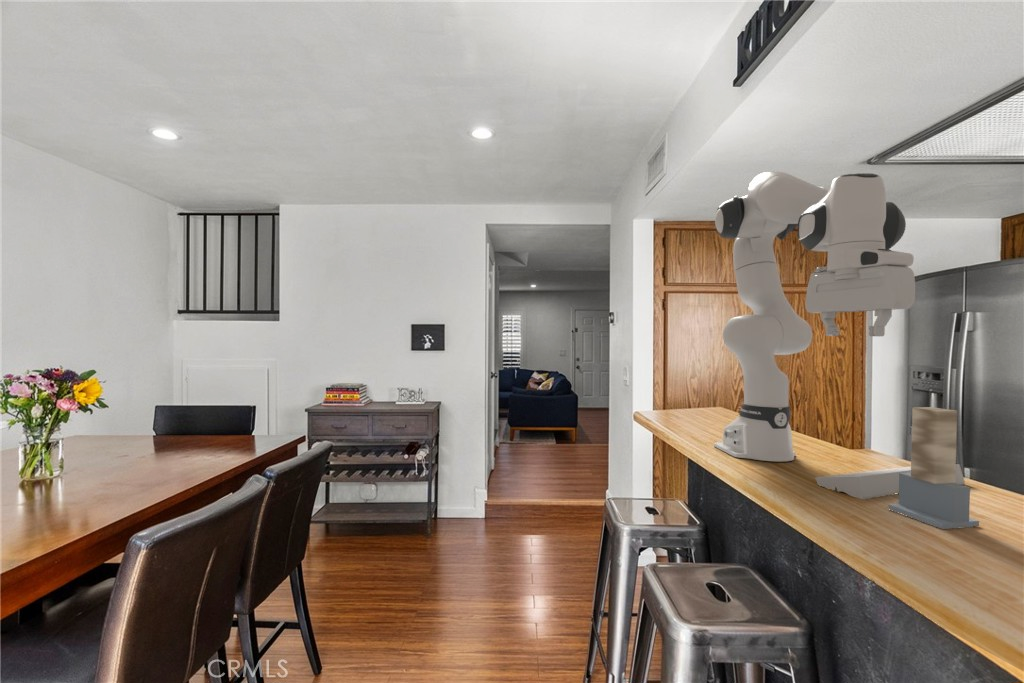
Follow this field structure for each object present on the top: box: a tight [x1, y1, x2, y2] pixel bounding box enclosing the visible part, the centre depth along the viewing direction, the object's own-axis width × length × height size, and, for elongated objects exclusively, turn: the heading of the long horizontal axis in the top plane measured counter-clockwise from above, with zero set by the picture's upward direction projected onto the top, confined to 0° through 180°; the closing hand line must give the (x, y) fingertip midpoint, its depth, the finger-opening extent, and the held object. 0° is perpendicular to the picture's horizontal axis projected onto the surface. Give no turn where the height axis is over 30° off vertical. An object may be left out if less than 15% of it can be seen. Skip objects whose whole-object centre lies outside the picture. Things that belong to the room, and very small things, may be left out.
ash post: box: [910, 406, 958, 484], centre depth 94 cm, size 4×4×13 cm
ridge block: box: [888, 472, 980, 530], centre depth 94 cm, size 10×8×7 cm
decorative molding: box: [815, 463, 966, 500], centre depth 115 cm, size 34×5×10 cm
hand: (853, 336), depth 95 cm, fingers open, 8 cm apart
